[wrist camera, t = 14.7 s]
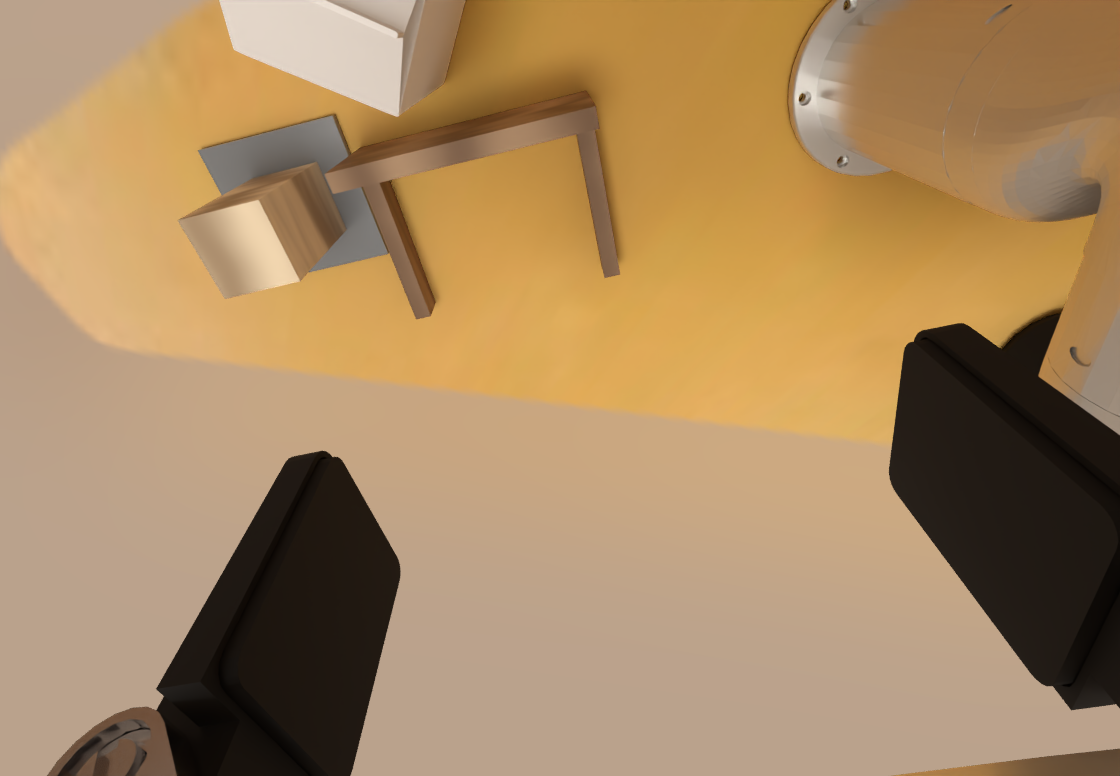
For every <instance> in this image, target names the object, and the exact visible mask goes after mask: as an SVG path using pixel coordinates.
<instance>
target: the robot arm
mask: <svg viewBox="0 0 1120 776" xmlns="http://www.w3.org/2000/svg"><path fill="white" fill-rule="evenodd" d="M845 1H847V3H848V5H847V8H846V9H845V10H844V9H843V6H844V2H845ZM801 93H802V94H803V98H802V100H800V101H798V99H799V96H800V94H801ZM788 107H789V114H790V121H791V125H792V127H793V130H794V133H795V136H796V138H797V140H798V141H799V143H800V144H801V146H802V148H803V149H804V151H805V152H806V153H807V154H808V155H809V156H810V157H812V158H813V159H814V160H815V161H816V162H818V163H819V164H821V165H823V166H824V167H826V168H828V169H830V170H832V171H835V172H837V173H840V174H846V175H852V176H870V175H876V174H880V173H885V172H889V171H891V170H894V171H897V172H899V173H901V174H903V175H906V176H908V177H910V178H912V179H915V180H917V181H919V182H922V183H924V184H926V185H928V186H931V187H933V188H935V189H937V190H940V191H942V192H944V193H947V194H949V195H951V196H953V197H956V198H958V199H960V200H963V201H965V202H967V203H970V204H972V205H975V206H977V207H980V208H982V209H984V210H987V211H989V212H991V213H994V214H996V215H999V216H1002V217H1006V218H1009V219H1014V220H1020V221H1028V222H1052V221H1063V220H1070V219H1076V218H1080V217H1084V216H1089V215H1093V214H1097V215H1096V218H1095V221H1094V224H1093V227H1092V229H1091V232H1090V234H1089V237H1088V240H1087V242H1086V245H1085V248H1084V251H1083V255H1084V257H1083V260H1082V262H1081V265H1080V267H1079V270H1078V272H1077V275H1076V277H1075V280H1074V283H1073V285H1072V288H1071V290H1070V293H1069V295H1068V298H1067V301H1066V303H1065V306H1064V308H1063V311H1062V313H1061V316H1060V319H1059V321H1058V324H1057V326H1056V329H1055V331H1054V334H1053V336H1052V339H1051V342H1050V345H1049V347H1048V350H1047V352H1046V355H1045V358H1044V360H1043V363H1042V366H1041V369H1040V372H1039V376H1037V375H1036V374H1035V373H1033V372H1032V371H1030V370H1029V369H1028V368H1026V367H1025V366H1024V365H1022V364H1021V363H1019V362H1018V361H1017V360H1015V359H1014V358H1012V357H1011V356H1010V355H1008V354H1007V353H1006V352H1004V351H1003V350H1001V349H1000V348H999V347H997V346H996V345H994V344H993V343H992V342H990V341H989V340H988V339H986V338H985V337H983V336H982V335H981V334H979V333H978V332H977V331H975V330H974V329H972V328H971V327H970V326H968V325H966V324H964V323H958V324H953V325H948V326H943V327H938V328H933V329H928V330H923V331H921V332H919V333H918V334H917V335H916V337H915V340H914V342H910V343H908V344H907V345H906V347H905V350H904V355H903V363H902V371H901V379H900V387H899V394H898V402H897V410H896V418H895V426H894V434H893V442H892V450H891V458H890V466H889V475H890V481H891V484H892V486H893V488H894V490H895V492H896V493H897V495H898V496H899V497H900V499H901V500H902V501H903V503H904V504H905V506H906V507H907V508H908V510H909V511H910V512H911V514H912V515H913V516H914V517H915V519H916V520H917V522H918V523H919V524H920V526H921V527H922V528H923V530H924V531H925V532H926V534H927V535H928V536H929V538H930V539H931V540H932V542H933V543H934V544H935V546H936V547H937V548H938V550H939V551H940V552H941V554H942V555H943V556H944V558H945V559H946V560H947V562H948V563H949V564H950V566H951V567H952V568H953V570H954V571H955V573H956V574H957V575H958V577H959V578H960V579H961V581H962V582H963V583H964V584H965V586H966V587H967V589H968V590H969V591H970V593H971V594H972V595H973V597H974V598H975V599H976V601H977V602H978V603H979V605H980V606H981V607H982V609H983V610H984V611H985V613H986V614H987V615H988V617H989V618H990V619H991V621H992V622H993V623H994V625H995V626H996V627H997V629H998V630H999V631H1000V633H1001V634H1002V636H1003V637H1004V638H1005V639H1006V641H1007V642H1008V643H1009V645H1010V646H1011V648H1012V649H1013V650H1014V652H1015V653H1016V654H1017V656H1018V657H1019V658H1020V660H1021V661H1022V662H1023V664H1024V665H1025V666H1026V668H1027V669H1028V670H1029V672H1030V673H1031V674H1032V675H1033V676H1034V678H1035V679H1036V680H1038V681H1039V682H1040V683H1041V684H1043V685H1045V686H1053V687H1054V688H1055V690H1056V691H1057V692H1058V693H1059V695H1060V696H1061V697H1062V699H1063V700H1064V701H1065V703H1066V704H1067V705H1068V706H1069V708H1070V709H1071V710H1076V709H1083V708H1091V707H1099V706H1106V705H1113V704H1117V706H1118V707H1119V708H1120V0H832V1H831V2H830V3H829V4H828V5H827V6H826V7H825V8H824V10H823V11H822V12H821V14H820V15H819V16H818V18H817V19H816V20H815V22H814V23H813V24H812V26H811V28H810V29H809V31H808V33H807V35H806V37H805V38H804V40H803V42H802V44H801V46H800V49H799V51H798V54H797V56H796V59H795V62H794V64H793V69H792V73H791V78H790V83H789V96H788ZM839 157H841V158H840V160H839V162H837V160H838V158H839ZM399 581H400V564H399V560H398V558H397V556H396V554H395V553H394V551H393V549H392V547H391V546H390V544H389V542H388V540H387V538H386V537H385V535H384V533H383V531H382V530H381V528H380V526H379V524H378V523H377V521H376V519H375V517H374V516H373V514H372V512H371V510H370V508H369V507H368V505H367V503H366V502H365V500H364V498H363V496H362V495H361V493H360V491H359V489H358V487H357V486H356V484H355V482H354V480H353V479H352V477H351V475H350V474H349V472H348V470H347V468H346V466H345V464H344V463H343V461H342V460H341V459H340V458H338V457H332V456H331V455H330V454H329V453H328V452H326V451H319V452H314V453H309V454H304V455H299V456H294V457H291V458H289V459H288V460H287V461H286V463H285V464H284V466H283V468H282V470H281V471H280V473H279V475H278V476H277V478H276V480H275V482H274V484H273V485H272V487H271V489H270V491H269V492H268V494H267V496H266V497H265V499H264V501H263V503H262V504H261V506H260V508H259V510H258V512H257V513H256V515H255V517H254V519H253V520H252V522H251V524H250V526H249V527H248V529H247V531H246V533H245V534H244V536H243V538H242V540H241V541H240V543H239V545H238V547H237V548H236V550H235V552H234V554H233V555H232V557H231V559H230V561H229V562H228V564H227V566H226V568H225V570H224V571H223V573H222V575H221V576H220V578H219V580H218V582H217V583H216V585H215V587H214V589H213V590H212V592H211V594H210V596H209V597H208V599H207V601H206V603H205V604H204V606H203V608H202V610H201V612H200V613H199V615H198V617H197V618H196V620H195V622H194V624H193V626H192V627H191V629H190V631H189V632H188V634H187V636H186V638H185V639H184V641H183V643H182V645H181V646H180V648H179V650H178V652H177V653H176V655H175V657H174V659H173V661H172V662H171V664H170V666H169V667H168V669H167V671H166V673H165V674H164V676H163V678H162V680H161V682H160V683H159V685H158V687H157V688H156V689H157V690H158V691H159V692H160V693H161V694H162V695H163V696H164V697H163V700H162V701H161V703H160V705H159V706H158V709H157V710H154V709H152V708H149V707H136V708H130V709H128V710H125V711H122V712H119V713H117V714H114V715H113V716H111V717H109V718H107V719H106V720H104V721H102V722H101V723H99V724H98V725H96V726H94V727H93V728H92V729H91V730H89V731H88V732H87V733H86V734H85V735H83V736H82V737H81V738H80V739H78V740H77V741H76V742H75V743H74V744H73V745H72V746H71V747H70V748H69V749H68V750H67V752H66V753H65V754H64V755H63V756H62V757H61V758H60V759H59V760H58V761H57V762H56V764H55V766H54V767H53V768H52V770H51V771H50V772H49V774H48V775H47V776H350V775H351V772H352V769H353V765H354V761H355V757H356V753H357V749H358V745H359V741H360V737H361V733H362V729H363V725H364V721H365V716H366V713H367V709H368V705H369V701H370V697H371V693H372V689H373V685H374V681H375V676H376V673H377V669H378V665H379V661H380V657H381V653H382V649H383V644H384V641H385V637H386V632H387V629H388V625H389V621H390V617H391V613H392V609H393V605H394V601H395V597H396V592H397V589H398V585H399ZM894 776H1120V749H1113V750H1104V751H1094V752H1085V753H1075V754H1066V755H1056V756H1047V757H1039V758H1031V759H1022V760H1014V761H1007V762H999V763H990V764H982V765H975V766H966V767H958V768H950V769H942V770H934V771H926V772H918V773H910V774H901V775H894Z"/></svg>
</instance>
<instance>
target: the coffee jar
mask: <svg viewBox="0 0 1120 776" xmlns="http://www.w3.org/2000/svg"><path fill="white" fill-rule="evenodd" d="M1060 316H1061V313H1060V314H1055V315H1051V316H1048V317H1045V318H1043V319H1041V320H1039V321H1037V322H1035V323H1032V324H1030V325H1029V326H1028V327H1026V328H1025V329H1024V330H1022V331H1021V332H1019V333H1018V334H1017V335H1015V336H1014V337H1013V338H1012V339H1011V340H1010V342H1009V343H1008V344H1007V345H1006V346H1005V347H1004V348H1003V349H1002V350H1003V351H1004V352H1006V353H1007V354H1008V355H1010V356H1011V357H1012V358H1014V359H1015V360H1017V361H1018V362H1019V363H1021V364H1022V365H1024V366H1025V367H1026V368H1028V369H1029V370H1030V371H1032V372H1033V373H1035V374H1036V375H1037V376H1039V372H1040V369H1041V366H1042V363H1043V360H1044V358H1045V355H1046V352H1047V350H1048V347H1049V345H1050V342H1051V339H1052V336H1053V334H1054V331H1055V329H1056V326H1057V324H1058V321H1059V319H1060Z"/></svg>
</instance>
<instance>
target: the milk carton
mask: <svg viewBox="0 0 1120 776" xmlns="http://www.w3.org/2000/svg"><path fill="white" fill-rule="evenodd" d="M219 1H220V4H221V8H222V11H223V15H224V18H225V22H226V25H227V28H228V32H229V35H230V39H231V42H232V46H233V49H234V50H235V51H237V52H239V53H241V54H244V55H246V56H248V57H251V58H253V59H255V60H258V61H260V62H263V63H265V64H268V65H270V66H273V67H275V68H277V69H280V70H282V71H285V72H287V73H290V74H292V75H295V76H297V77H300V78H302V79H304V80H307V81H309V82H312V83H314V84H317V85H319V86H322V87H324V88H327V89H329V90H331V91H334V92H336V93H339V94H341V95H344V96H346V97H349V98H351V99H353V100H356V101H358V102H361V103H363V104H366V105H368V106H371V107H373V108H376V109H378V110H381V111H383V112H386V113H388V114H391V115H394V116H397V117H399V115H401V114H402V113H403V112H405V111H406V110H408V109H409V108H410V107H412V106H413V105H415V104H416V103H418V102H419V101H420V100H422V99H423V98H425V97H426V96H427V95H429V94H430V93H432V92H433V91H435V90H436V89H437V88H439V87H440V86H442V85H443V84H444V82H445V78H446V74H447V70H448V67H449V63H450V59H451V55H452V51H453V47H454V43H455V40H456V36H457V32H458V28H459V24H460V20H461V16H462V12H463V9H464V5H465V1H466V0H219Z"/></svg>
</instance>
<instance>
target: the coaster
mask: <svg viewBox="0 0 1120 776" xmlns="http://www.w3.org/2000/svg"><path fill="white" fill-rule="evenodd" d="M198 152H199V154H200V156H201V157H202V159H203V161H204V163H205V165H206V167H207V169H208V170H209V172H210V174H211V176H212V178H213V180H214V182H215V183H216V185H217V187H218V189H219V191H220V193H221V195H224V194H225V193H227V192H229V191H231V190H232V189H234V188H236V187H238V186H240V185H241V184H243V183H245V182H247V181H248V180H250V179H252V178H256V177H260V176H264V175H268V174H271V173H275V172H279V171H283V170H287V169H291V168H295V167H298V166H302V165H306V164H310V163H314V162H317V163H318V165H319V168H320V170H321V172H322V175H323V177H324V179H325V181H326V184H327V186H328V188H329V190H330V193H331V195H332V197H333V199H334V202H335V204H336V206H337V209H338V211H339V213H340V215H341V218H342V220H343V222H344V224H345V227H346V229H347V230H346V231H345V232H344V233H343V234H342V236H341V237H340V238H339V239H338V240H337V241H336V242H335V243H334V244H333V245H332V247H331V248H330V249H329V250H328V251H327V252H326V253H325V254H324V255H323V257H322V258H321V259H320V260H319V261H318V262H317V263H316V264H315V265H314V266H313V268H312V269H311V270H310V271H309V272H312V271H317V270H321V269H325V268H330V267H334V266H338V265H342V264H347V263H351V262H355V261H360V260H364V259H368V258H372V257H377V256H381V255H385V254H388V253H389V250H388V248H387V245H386V243H385V240H384V238H383V235H382V233H381V230H380V228H379V225H378V223H377V220H376V218H375V215H374V213H373V210H372V208H371V206H370V203H369V201H368V198H367V196H366V193H365V191H364V188H363V187H360V188H356V189H352V190H348V191H344V192H340V193H336V194H333V193H332V190H331V188H330V186H329V184H328V181H327V179H326V177H325V173H326V172H328V171H329V170H330V169H332V168H333V167H335V166H336V165H337V164H339V163H340V162H341V161H343V160H344V159H345V158H347V157H348V156H350V155H351V153H350V151H349V148H348V146H347V143H346V141H345V138H344V136H343V133H342V131H341V128H340V126H339V123H338V121H337V118H336V116H335V115H331V116H327V117H323V118H319V119H315V120H311V121H308V122H304V123H300V124H296V125H292V126H288V127H284V128H281V129H277V130H273V131H269V132H265V133H261V134H258V135H254V136H250V137H246V138H242V139H238V140H234V141H231V142H227V143H223V144H219V145H215V146H211V147H207V148H204V149H201V150H198Z"/></svg>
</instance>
